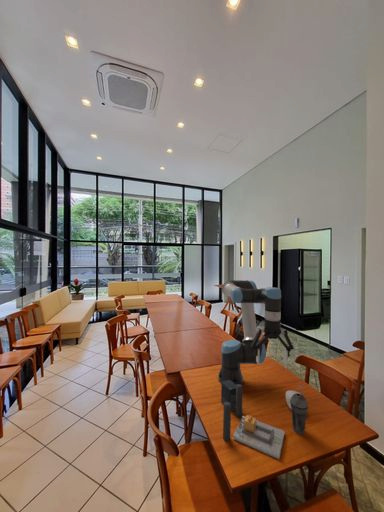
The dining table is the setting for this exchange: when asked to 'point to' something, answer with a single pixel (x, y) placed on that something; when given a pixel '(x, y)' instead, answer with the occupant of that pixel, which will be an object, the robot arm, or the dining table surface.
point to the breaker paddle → (250, 423)
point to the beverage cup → (299, 412)
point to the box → (228, 393)
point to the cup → (289, 396)
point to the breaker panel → (261, 438)
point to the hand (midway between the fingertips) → (271, 362)
